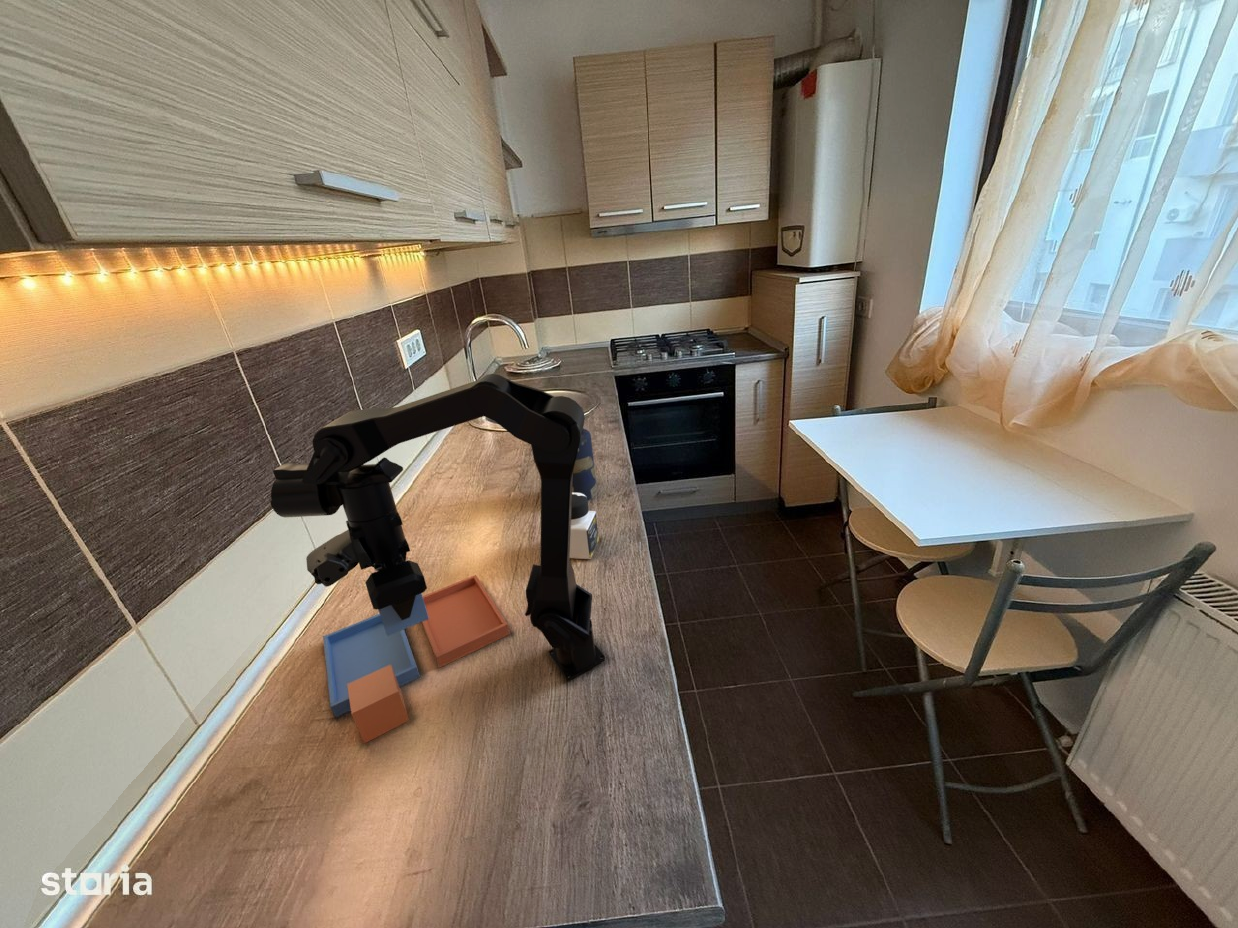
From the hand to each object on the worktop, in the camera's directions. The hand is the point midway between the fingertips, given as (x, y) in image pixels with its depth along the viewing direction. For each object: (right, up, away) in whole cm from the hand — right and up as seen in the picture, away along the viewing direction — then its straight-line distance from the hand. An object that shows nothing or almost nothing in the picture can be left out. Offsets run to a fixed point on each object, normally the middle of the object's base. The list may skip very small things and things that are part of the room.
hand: (401, 606), depth 67 cm
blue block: (0, -2, +1) cm, 2 cm away
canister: (+21, +12, +51) cm, 56 cm away
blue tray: (-8, -10, +6) cm, 14 cm away
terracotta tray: (+4, -6, +13) cm, 15 cm away
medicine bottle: (+22, +3, +30) cm, 38 cm away
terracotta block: (-1, -14, -3) cm, 14 cm away
